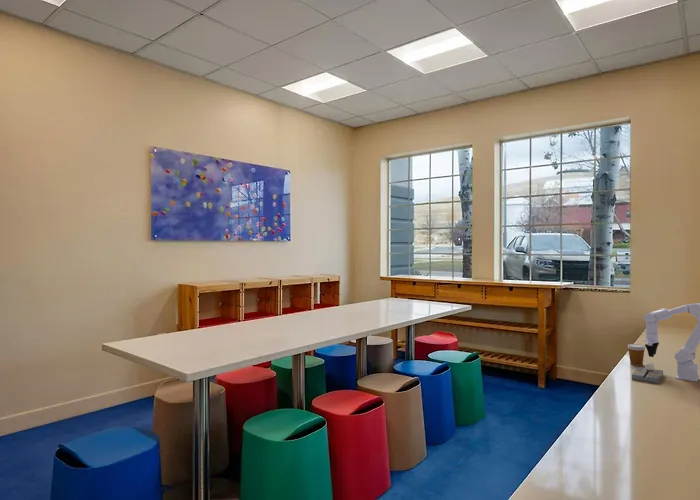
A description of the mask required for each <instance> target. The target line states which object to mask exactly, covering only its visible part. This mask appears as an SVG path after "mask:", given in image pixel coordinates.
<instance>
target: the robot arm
mask: <svg viewBox="0 0 700 500" xmlns="http://www.w3.org/2000/svg"><path fill="white" fill-rule="evenodd" d="M681 313H688V314H689V313H690V314H691V315H692V316H693V317H694V318H695V319H696V322H697V323H696V325H695V326H694V328H693V330H692V332H691V333H690V335H689V337H688V339H687V340H686V342H685V343H684V345H683V346H682V347H681V348H680V349H679V351H676V353H675V354H674V358H675V360H676V362H677V363H676V366H677V367H676V369H677V372H676V373H677V375H676V377H675V379H677V380H684V381H692V382H698V380H699V378H700V375H699V364H698V363H694V360H695V359H696V353H697V348H698V346H699V344H700V302H698V303H689V304H683V305H680V306H677V307H673V308H671V309H669V308H664V307H662V308H660V309H659V310H653V311H652V312H647V313H645V314H644V315H643V320H644V321H645V338H644V339H643V341H645V342H646V343H645V344H644V347H645V349H646V350H647V354H648V357H649V358H654V356H655V355H656V354H657V350H658V347H659V346H660V345H659V344H660V342H659V336H658V335H659V334H658V333H659V332H658V327H659V326H658V322H660V321H663V320H664V321H665V320H667V319H671V317H672V316H674V315H677V314H681Z"/></svg>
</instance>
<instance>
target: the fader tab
mask: <svg viewBox="0 0 700 500" xmlns="http://www.w3.org/2000/svg"><path fill="white" fill-rule="evenodd" d="M644 368H645V369H647V370H649V372H650V371H651V370H654V369H655V365H654V362H645V367H644Z"/></svg>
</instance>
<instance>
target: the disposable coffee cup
mask: <svg viewBox="0 0 700 500" xmlns="http://www.w3.org/2000/svg"><path fill="white" fill-rule="evenodd" d="M627 350H628V355H629V362H630V365H631V366H636V365H637V366H638V367H641V366H643V363H644V357H645V350H646V347H645V345H643V344H640V343H630V344H629V343H628V344H627Z"/></svg>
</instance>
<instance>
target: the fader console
mask: <svg viewBox="0 0 700 500" xmlns="http://www.w3.org/2000/svg"><path fill="white" fill-rule="evenodd" d="M663 377H664V370H663V369H662V370H661V369H655V368H654V370H651V371H650V372H649V370H647V369H645V367H641V366H638V367H637V368H636V369H635V370H634V371H633V372H632V373H631V380H632V381H639V382H643V383H644V382H645V383H650V384H657V385H658V384H659V383H660V382H661V381H662V378H663Z"/></svg>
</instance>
